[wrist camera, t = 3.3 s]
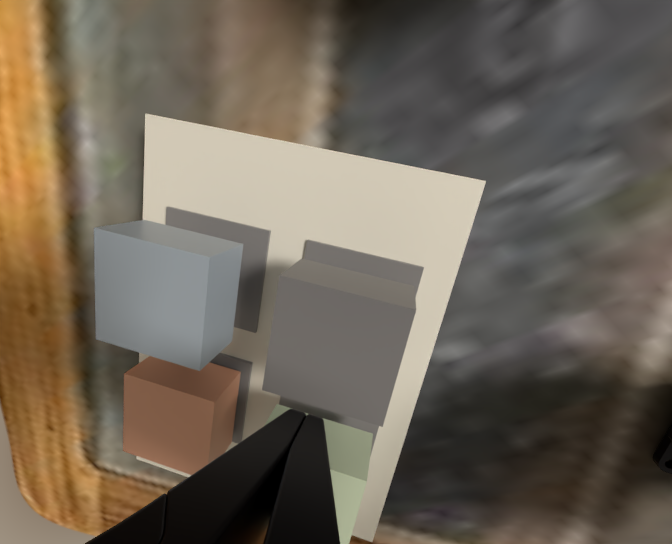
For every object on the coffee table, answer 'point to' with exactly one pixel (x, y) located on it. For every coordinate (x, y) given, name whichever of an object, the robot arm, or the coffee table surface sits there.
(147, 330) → the slate key
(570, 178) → the coffee table surface
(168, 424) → the terracotta key
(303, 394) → the charcoal key
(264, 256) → the keypad board
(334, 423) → the sage key
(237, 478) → the robot arm
